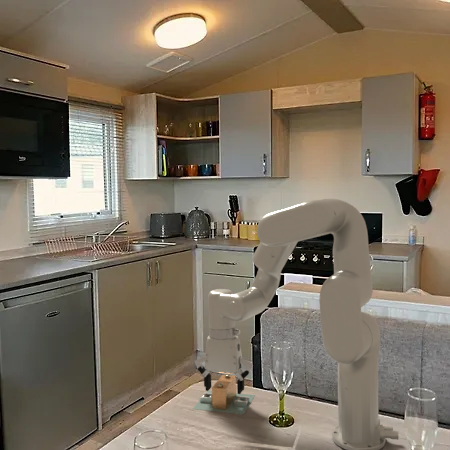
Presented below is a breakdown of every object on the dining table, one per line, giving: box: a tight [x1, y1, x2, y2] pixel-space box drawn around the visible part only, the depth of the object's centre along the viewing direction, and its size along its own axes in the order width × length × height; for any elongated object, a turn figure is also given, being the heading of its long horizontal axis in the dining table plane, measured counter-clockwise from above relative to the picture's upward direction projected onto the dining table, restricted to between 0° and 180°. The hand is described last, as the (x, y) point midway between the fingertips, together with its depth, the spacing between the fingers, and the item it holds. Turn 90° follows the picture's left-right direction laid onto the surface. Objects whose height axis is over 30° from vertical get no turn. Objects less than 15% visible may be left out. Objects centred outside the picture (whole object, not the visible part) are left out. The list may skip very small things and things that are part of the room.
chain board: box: [192, 390, 256, 416], centre depth 144 cm, size 15×13×1 cm
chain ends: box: [199, 392, 250, 407], centre depth 144 cm, size 14×4×1 cm, turn 72°
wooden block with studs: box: [211, 373, 237, 410], centre depth 144 cm, size 4×10×7 cm, turn 162°
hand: (224, 390), depth 143 cm, fingers open, 9 cm apart
